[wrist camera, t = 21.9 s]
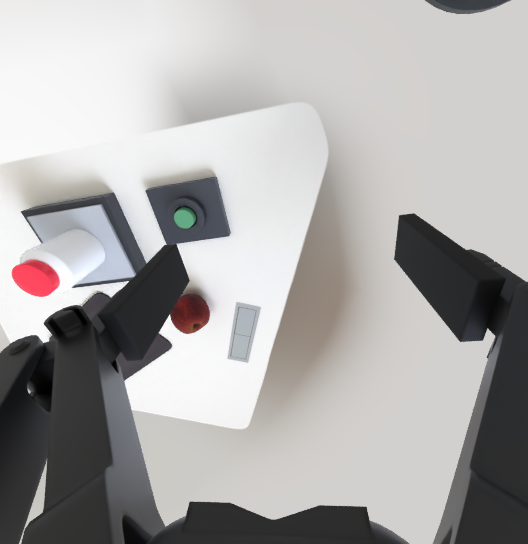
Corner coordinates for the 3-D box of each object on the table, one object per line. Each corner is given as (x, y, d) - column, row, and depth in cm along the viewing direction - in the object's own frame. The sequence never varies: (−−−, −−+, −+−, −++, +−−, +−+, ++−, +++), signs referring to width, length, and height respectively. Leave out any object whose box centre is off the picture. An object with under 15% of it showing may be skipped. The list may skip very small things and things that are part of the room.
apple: (199, 320, 57) (188, 347, 50) (170, 301, 55) (155, 326, 48) (219, 302, 54) (210, 328, 47) (190, 281, 52) (176, 304, 45)
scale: (114, 192, 43) (102, 197, 40) (150, 271, 51) (142, 280, 48) (34, 206, 45) (17, 212, 43) (80, 280, 53) (69, 289, 50)
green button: (192, 205, 41) (189, 208, 40) (198, 224, 43) (195, 227, 41) (174, 208, 42) (170, 211, 40) (180, 226, 43) (177, 230, 42)
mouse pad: (99, 289, 54) (98, 290, 54) (174, 345, 62) (174, 346, 61) (47, 340, 63) (46, 341, 63) (118, 383, 70) (118, 384, 70)
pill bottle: (100, 231, 43) (50, 260, 34) (109, 269, 47) (66, 305, 38) (55, 226, 43) (-7, 254, 34) (68, 265, 47) (15, 299, 38)
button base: (216, 176, 41) (212, 180, 39) (230, 233, 46) (227, 239, 43) (148, 188, 43) (140, 192, 40) (169, 242, 48) (163, 248, 45)
